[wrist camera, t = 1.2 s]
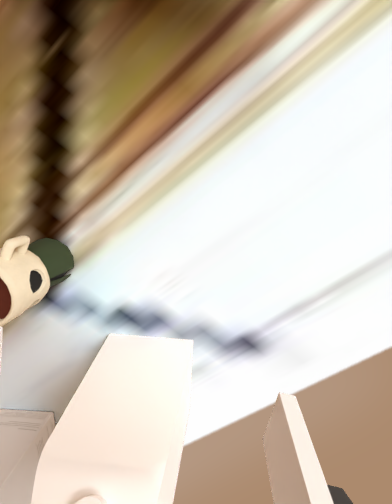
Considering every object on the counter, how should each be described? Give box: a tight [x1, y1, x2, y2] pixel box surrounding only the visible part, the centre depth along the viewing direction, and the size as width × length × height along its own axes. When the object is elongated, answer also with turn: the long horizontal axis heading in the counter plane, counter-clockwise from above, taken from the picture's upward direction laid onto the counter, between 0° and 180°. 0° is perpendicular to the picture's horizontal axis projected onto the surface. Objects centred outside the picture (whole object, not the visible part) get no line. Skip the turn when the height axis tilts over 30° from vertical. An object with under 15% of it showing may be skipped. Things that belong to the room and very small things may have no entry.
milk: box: [31, 334, 193, 504], centre depth 31 cm, size 12×12×26 cm
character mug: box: [0, 236, 74, 326], centre depth 34 cm, size 11×7×13 cm, turn 154°
